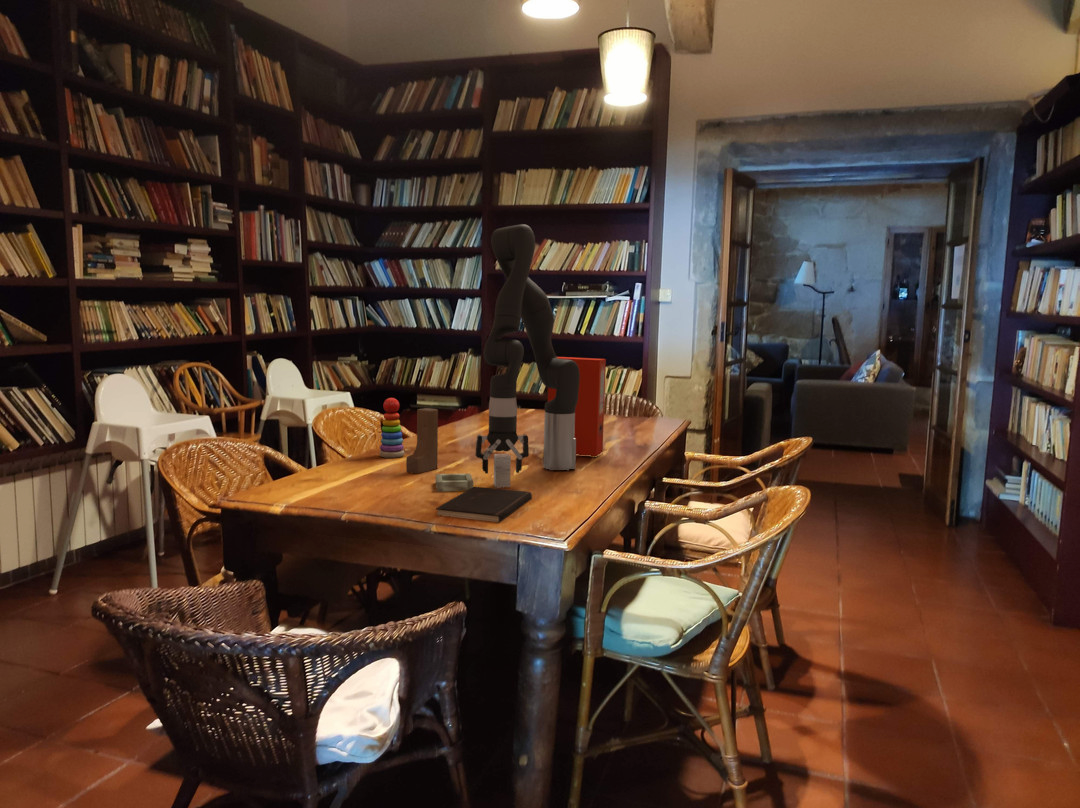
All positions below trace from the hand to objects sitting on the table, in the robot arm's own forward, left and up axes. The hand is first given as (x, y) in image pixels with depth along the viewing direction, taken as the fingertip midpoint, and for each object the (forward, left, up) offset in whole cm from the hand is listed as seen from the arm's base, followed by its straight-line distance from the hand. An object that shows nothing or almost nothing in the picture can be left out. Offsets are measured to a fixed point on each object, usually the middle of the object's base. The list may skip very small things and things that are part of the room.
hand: (501, 472), depth 207 cm
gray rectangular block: (0, 0, -4) cm, 4 cm away
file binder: (-30, -43, -4) cm, 53 cm away
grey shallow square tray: (+13, 0, -4) cm, 13 cm away
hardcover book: (+6, +21, -4) cm, 22 cm away
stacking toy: (+30, -43, -4) cm, 52 cm away
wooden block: (+21, -21, -4) cm, 30 cm away
